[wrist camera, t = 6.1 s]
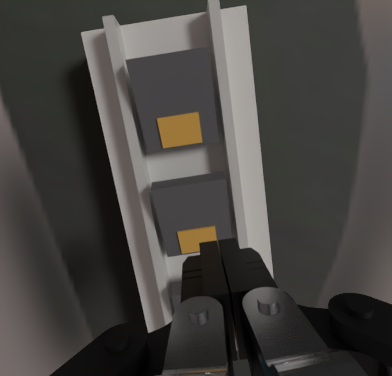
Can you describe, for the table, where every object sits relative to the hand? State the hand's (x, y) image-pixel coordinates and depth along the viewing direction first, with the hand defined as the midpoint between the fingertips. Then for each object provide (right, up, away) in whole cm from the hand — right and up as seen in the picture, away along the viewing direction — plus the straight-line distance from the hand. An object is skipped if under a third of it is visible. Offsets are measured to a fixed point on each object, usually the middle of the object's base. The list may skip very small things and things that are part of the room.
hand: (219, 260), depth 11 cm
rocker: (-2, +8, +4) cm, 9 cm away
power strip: (-1, +2, +11) cm, 11 cm away
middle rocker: (-1, +1, +6) cm, 6 cm away
